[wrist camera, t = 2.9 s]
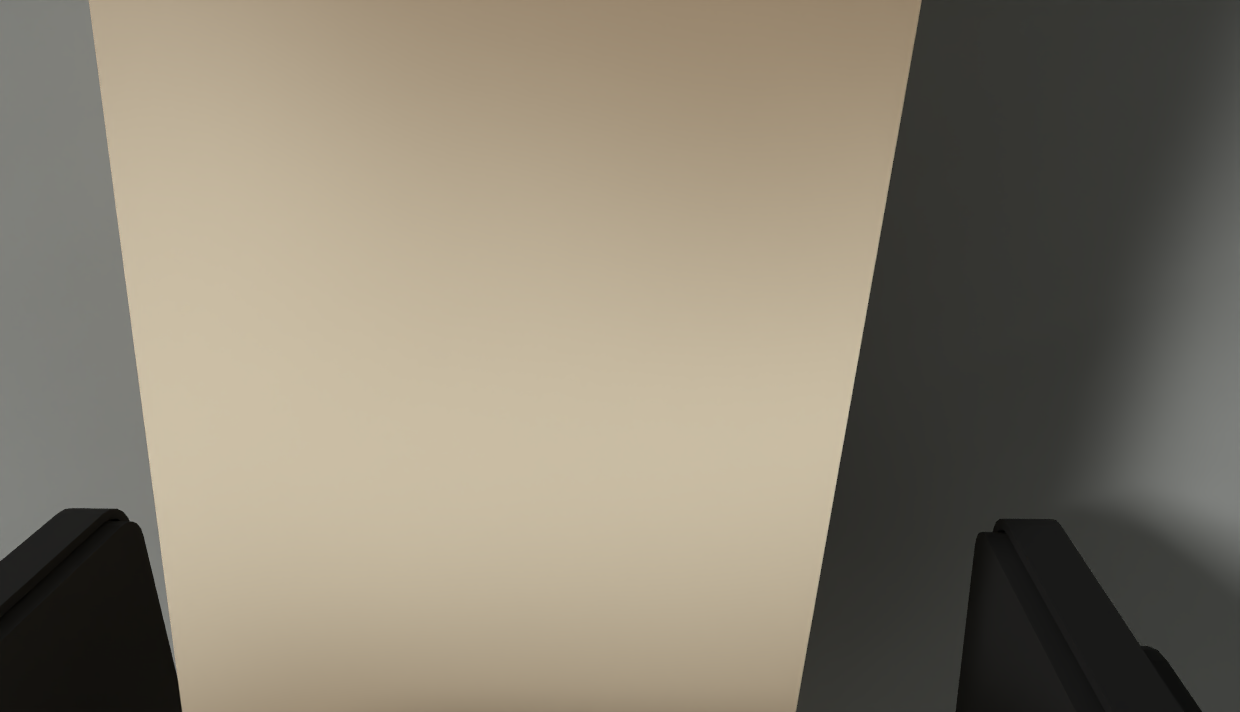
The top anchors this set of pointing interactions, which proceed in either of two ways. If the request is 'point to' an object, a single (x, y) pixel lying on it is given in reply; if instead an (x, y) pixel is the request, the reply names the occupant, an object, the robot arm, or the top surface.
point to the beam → (497, 337)
